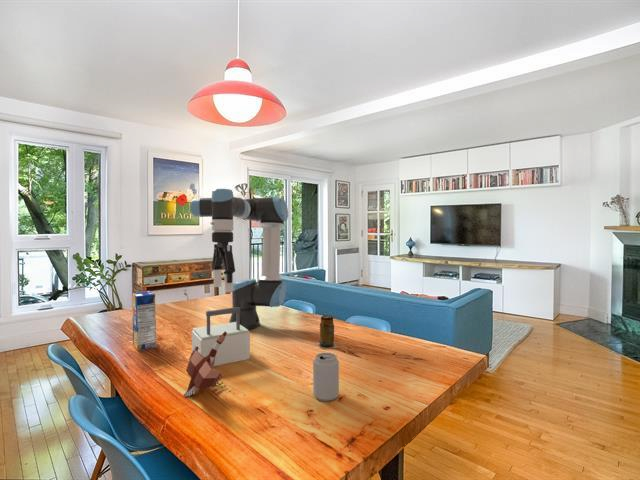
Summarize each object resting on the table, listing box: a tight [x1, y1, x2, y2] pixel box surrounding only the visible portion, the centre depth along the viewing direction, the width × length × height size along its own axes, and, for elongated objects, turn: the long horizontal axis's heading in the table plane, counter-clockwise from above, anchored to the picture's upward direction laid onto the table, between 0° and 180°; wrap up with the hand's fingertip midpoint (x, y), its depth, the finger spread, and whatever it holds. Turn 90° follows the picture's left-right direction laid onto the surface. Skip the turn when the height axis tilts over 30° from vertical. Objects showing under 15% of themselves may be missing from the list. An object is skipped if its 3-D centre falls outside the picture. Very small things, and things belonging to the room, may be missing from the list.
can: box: [312, 352, 340, 402], centre depth 102 cm, size 8×8×12 cm
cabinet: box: [191, 330, 251, 367], centre depth 133 cm, size 18×14×10 cm
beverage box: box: [131, 290, 157, 352], centre depth 146 cm, size 7×11×22 cm, turn 36°
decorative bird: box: [183, 332, 227, 398], centre depth 106 cm, size 28×18×15 cm, turn 33°
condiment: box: [316, 314, 339, 350], centre depth 147 cm, size 7×8×12 cm
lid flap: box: [192, 307, 250, 340], centre depth 132 cm, size 17×14×9 cm
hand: (222, 289), depth 128 cm, fingers open, 13 cm apart
